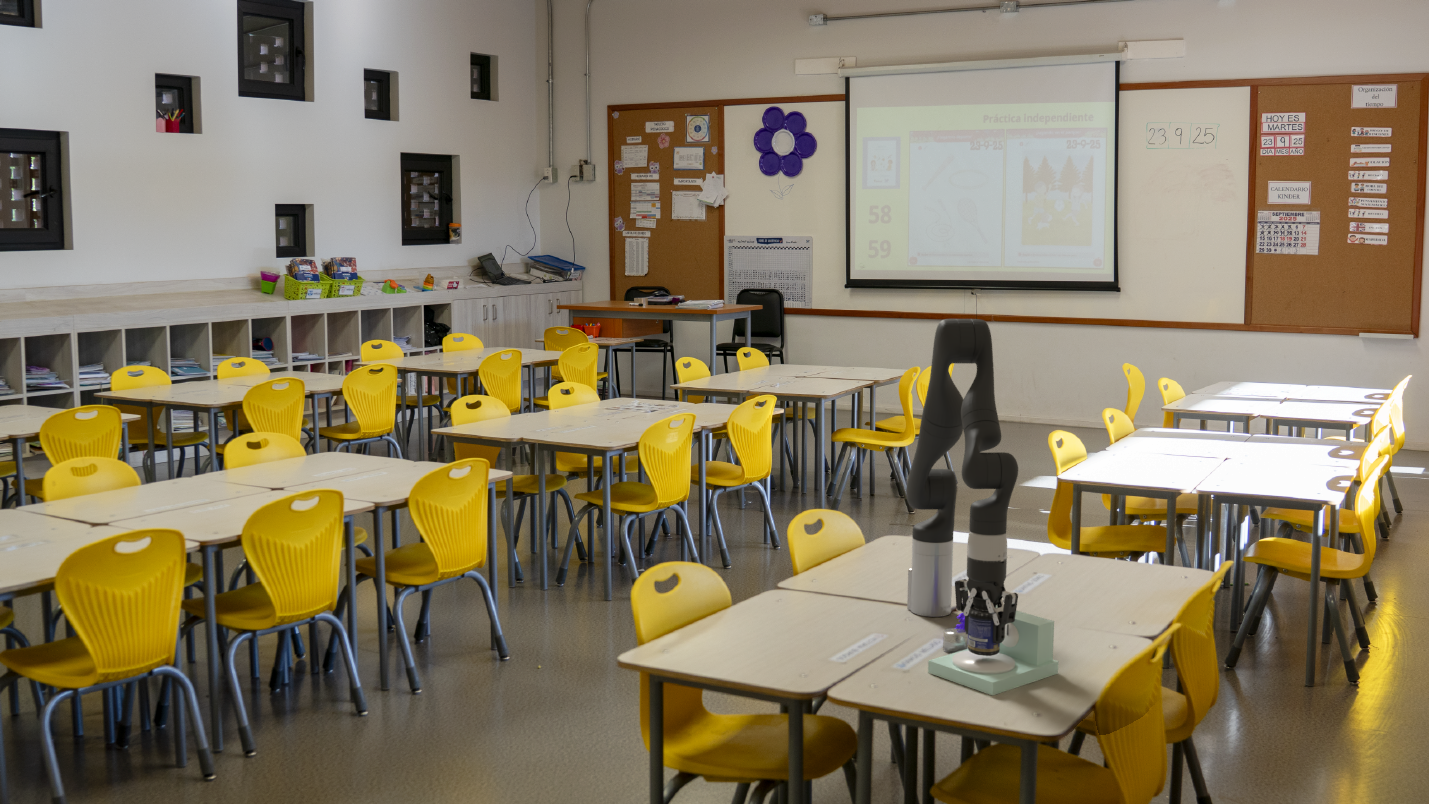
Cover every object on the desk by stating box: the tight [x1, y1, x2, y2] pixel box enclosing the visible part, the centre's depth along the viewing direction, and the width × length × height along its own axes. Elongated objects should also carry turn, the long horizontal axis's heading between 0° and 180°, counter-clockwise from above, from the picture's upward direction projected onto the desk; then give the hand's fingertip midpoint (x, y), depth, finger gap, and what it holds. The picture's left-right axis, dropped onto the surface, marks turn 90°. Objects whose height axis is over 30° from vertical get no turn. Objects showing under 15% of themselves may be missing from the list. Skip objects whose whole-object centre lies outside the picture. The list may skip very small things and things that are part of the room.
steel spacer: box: [942, 627, 968, 654], centre depth 261 cm, size 5×5×4 cm
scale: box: [927, 605, 1059, 696], centre depth 247 cm, size 16×20×10 cm
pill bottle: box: [968, 597, 1000, 656], centre depth 244 cm, size 6×6×11 cm
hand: (984, 638), depth 244 cm, fingers closed on pill bottle, 6 cm apart
